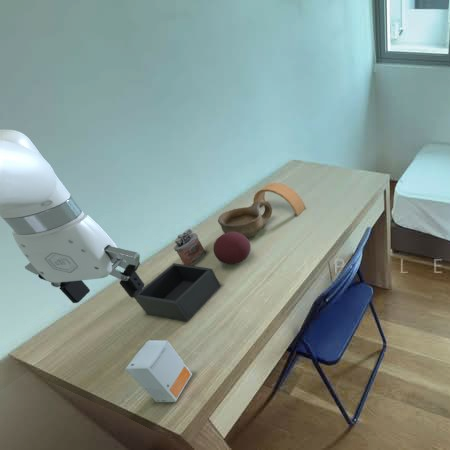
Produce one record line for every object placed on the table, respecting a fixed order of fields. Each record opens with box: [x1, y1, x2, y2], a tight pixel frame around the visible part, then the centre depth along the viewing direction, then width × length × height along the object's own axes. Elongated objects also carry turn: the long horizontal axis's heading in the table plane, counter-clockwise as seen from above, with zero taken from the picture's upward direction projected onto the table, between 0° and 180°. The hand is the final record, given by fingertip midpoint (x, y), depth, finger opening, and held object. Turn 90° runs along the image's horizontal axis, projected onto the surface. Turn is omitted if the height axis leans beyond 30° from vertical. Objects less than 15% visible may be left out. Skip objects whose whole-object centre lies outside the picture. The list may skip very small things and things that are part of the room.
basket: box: [133, 262, 222, 323], centre depth 82 cm, size 13×13×7 cm
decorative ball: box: [212, 232, 251, 266], centre depth 94 cm, size 10×10×10 cm
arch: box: [252, 182, 306, 217], centre depth 119 cm, size 6×20×10 cm, turn 71°
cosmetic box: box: [124, 339, 193, 403], centre depth 60 cm, size 6×4×12 cm
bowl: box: [217, 200, 273, 239], centre depth 108 cm, size 18×14×10 cm
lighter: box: [173, 228, 207, 266], centre depth 95 cm, size 8×3×10 cm, turn 171°
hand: (110, 294), depth 56 cm, fingers open, 9 cm apart
